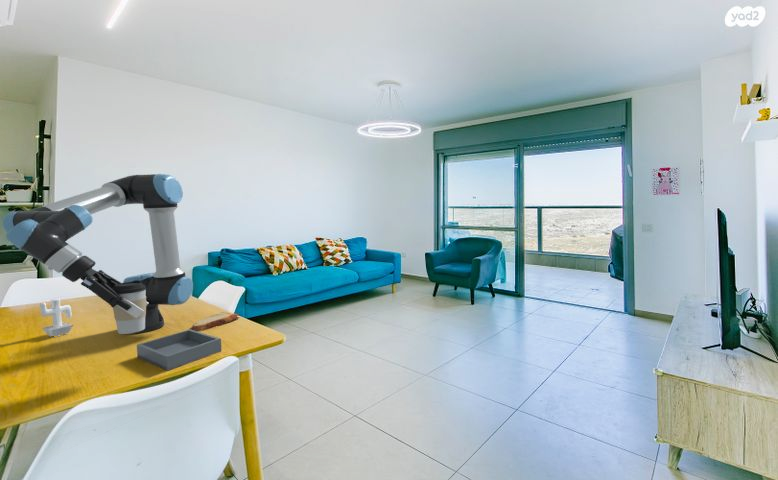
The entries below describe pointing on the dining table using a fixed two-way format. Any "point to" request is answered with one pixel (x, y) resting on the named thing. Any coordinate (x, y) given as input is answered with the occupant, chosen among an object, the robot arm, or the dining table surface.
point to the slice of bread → (214, 321)
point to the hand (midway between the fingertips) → (142, 310)
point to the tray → (178, 349)
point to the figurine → (56, 317)
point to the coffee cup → (138, 297)
